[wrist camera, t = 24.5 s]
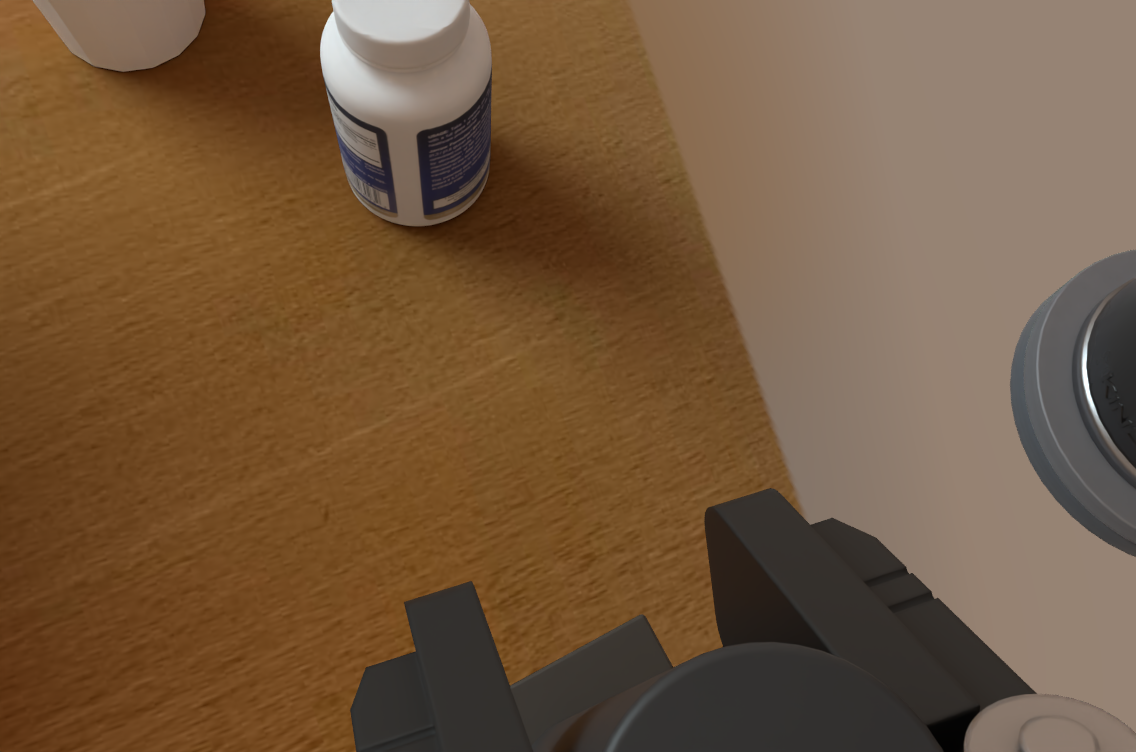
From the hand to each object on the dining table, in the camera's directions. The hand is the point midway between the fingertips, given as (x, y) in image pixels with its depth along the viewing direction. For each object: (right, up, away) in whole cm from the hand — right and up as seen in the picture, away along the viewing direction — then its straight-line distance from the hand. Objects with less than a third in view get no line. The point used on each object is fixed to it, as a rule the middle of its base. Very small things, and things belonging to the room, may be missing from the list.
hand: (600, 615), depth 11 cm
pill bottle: (-6, +10, +28) cm, 31 cm away
